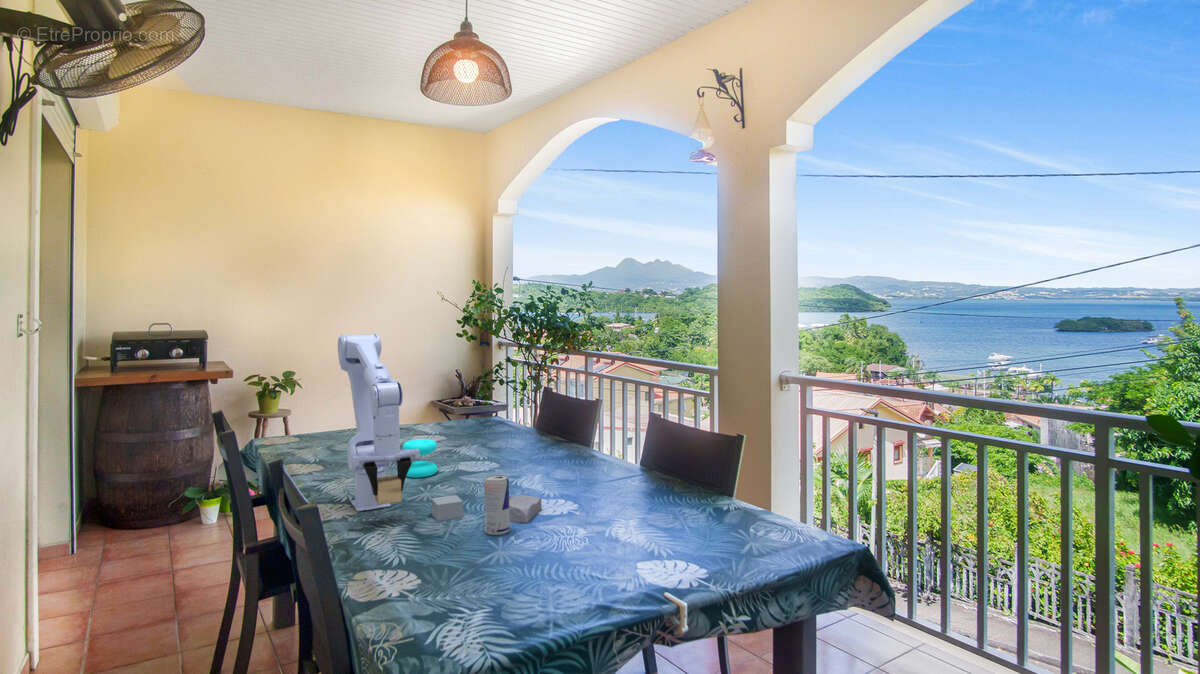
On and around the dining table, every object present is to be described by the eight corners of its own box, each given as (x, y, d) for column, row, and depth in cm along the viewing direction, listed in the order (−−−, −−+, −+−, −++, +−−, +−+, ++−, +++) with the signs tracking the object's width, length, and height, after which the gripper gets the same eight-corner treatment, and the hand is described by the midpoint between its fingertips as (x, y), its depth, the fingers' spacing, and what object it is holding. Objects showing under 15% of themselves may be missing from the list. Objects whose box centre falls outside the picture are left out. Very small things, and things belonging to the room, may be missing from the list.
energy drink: (513, 528, 142) (513, 475, 142) (502, 536, 137) (501, 481, 137) (492, 526, 144) (491, 473, 144) (480, 534, 139) (479, 479, 139)
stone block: (490, 530, 148) (530, 524, 146) (486, 509, 148) (526, 503, 146) (507, 516, 159) (545, 510, 157) (503, 496, 159) (541, 490, 157)
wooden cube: (374, 499, 149) (374, 478, 149) (396, 495, 152) (396, 475, 151) (379, 504, 145) (378, 483, 144) (401, 501, 147) (401, 480, 147)
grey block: (431, 514, 154) (431, 498, 153) (456, 511, 156) (456, 494, 156) (437, 521, 148) (437, 504, 148) (463, 517, 151) (462, 501, 151)
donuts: (408, 438, 197) (440, 438, 196) (409, 470, 197) (441, 470, 197) (397, 445, 187) (431, 444, 186) (398, 479, 187) (432, 478, 187)
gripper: (356, 440, 140) (357, 501, 141) (422, 433, 148) (423, 491, 148) (351, 435, 147) (352, 493, 147) (414, 429, 154) (415, 484, 154)
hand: (387, 492), depth 148 cm, fingers closed on wooden cube, 5 cm apart
